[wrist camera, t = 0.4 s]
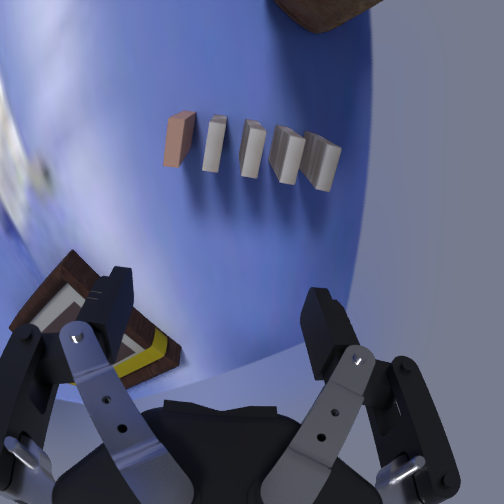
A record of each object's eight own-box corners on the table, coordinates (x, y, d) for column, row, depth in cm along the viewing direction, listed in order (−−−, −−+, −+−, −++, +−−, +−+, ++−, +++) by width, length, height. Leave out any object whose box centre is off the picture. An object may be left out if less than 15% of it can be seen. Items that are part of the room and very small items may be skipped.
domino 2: (208, 150, 38) (202, 170, 29) (214, 114, 35) (209, 122, 26) (220, 152, 38) (217, 172, 29) (226, 115, 35) (226, 124, 27)
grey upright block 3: (238, 155, 38) (241, 176, 30) (245, 118, 36) (250, 128, 27) (250, 156, 38) (256, 178, 30) (257, 121, 36) (266, 131, 27)
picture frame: (180, 370, 51) (96, 405, 58) (183, 344, 56) (102, 384, 64) (58, 267, 38) (4, 334, 45) (75, 245, 44) (16, 314, 51)
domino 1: (178, 147, 37) (163, 166, 28) (183, 110, 34) (168, 117, 26) (190, 148, 37) (178, 167, 29) (196, 111, 35) (184, 119, 26)
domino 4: (296, 165, 39) (315, 189, 31) (305, 130, 37) (327, 144, 28) (307, 167, 40) (329, 192, 31) (316, 133, 37) (341, 148, 29)
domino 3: (268, 159, 39) (279, 182, 30) (275, 124, 36) (290, 136, 28) (279, 162, 39) (294, 185, 30) (287, 126, 37) (305, 139, 28)
